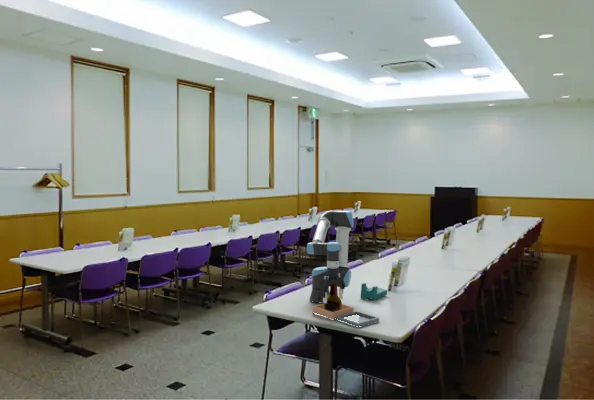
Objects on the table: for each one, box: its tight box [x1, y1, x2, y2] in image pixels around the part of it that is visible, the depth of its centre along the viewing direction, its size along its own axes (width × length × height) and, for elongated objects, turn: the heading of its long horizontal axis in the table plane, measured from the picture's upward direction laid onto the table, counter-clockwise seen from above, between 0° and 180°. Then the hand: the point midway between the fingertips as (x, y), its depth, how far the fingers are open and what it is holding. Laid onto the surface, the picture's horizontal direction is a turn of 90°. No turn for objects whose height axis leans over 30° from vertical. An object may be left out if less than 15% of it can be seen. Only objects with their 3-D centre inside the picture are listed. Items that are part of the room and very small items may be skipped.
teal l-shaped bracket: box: [360, 282, 388, 301], centre depth 339 cm, size 18×11×10 cm, turn 140°
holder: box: [312, 303, 354, 319], centre depth 297 cm, size 18×18×5 cm
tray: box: [336, 310, 380, 327], centre depth 284 cm, size 18×18×2 cm
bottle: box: [323, 283, 343, 312], centre depth 297 cm, size 12×6×20 cm, turn 55°
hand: (332, 300), depth 297 cm, fingers open, 13 cm apart
